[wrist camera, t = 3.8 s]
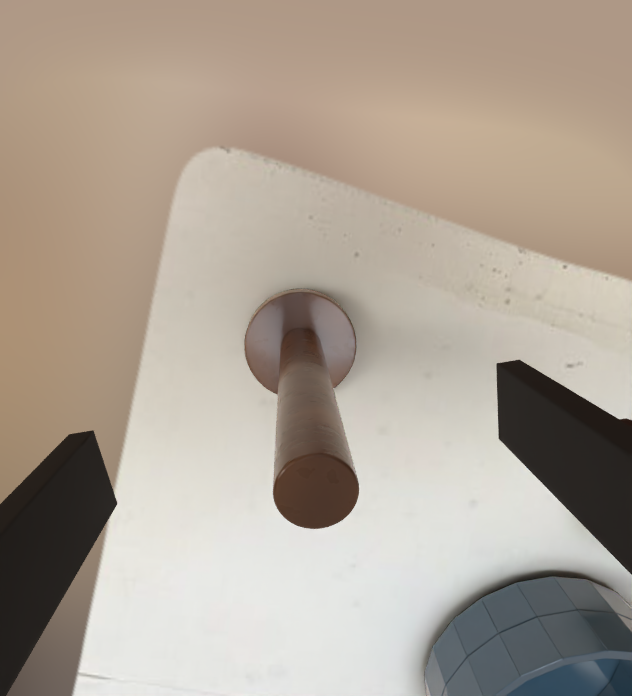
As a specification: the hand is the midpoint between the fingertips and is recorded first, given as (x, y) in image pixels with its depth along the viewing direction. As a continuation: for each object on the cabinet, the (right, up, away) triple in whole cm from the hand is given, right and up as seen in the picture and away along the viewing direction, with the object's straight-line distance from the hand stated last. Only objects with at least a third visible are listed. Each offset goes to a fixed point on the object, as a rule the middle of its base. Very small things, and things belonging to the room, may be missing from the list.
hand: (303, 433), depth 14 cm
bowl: (+16, -20, +18) cm, 32 cm away
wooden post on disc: (0, +3, +10) cm, 11 cm away
